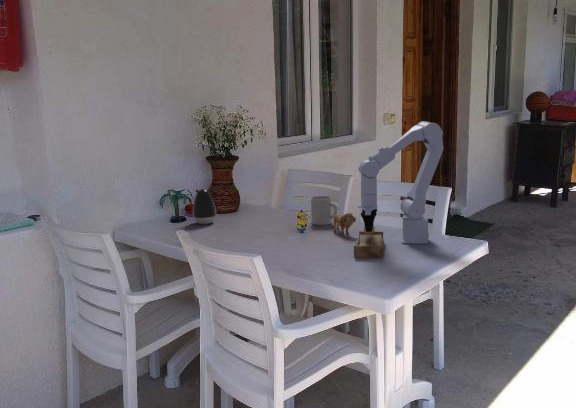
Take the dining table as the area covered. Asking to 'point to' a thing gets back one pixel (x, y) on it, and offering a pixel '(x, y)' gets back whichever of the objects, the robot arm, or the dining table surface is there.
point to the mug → (322, 210)
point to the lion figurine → (343, 222)
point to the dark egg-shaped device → (204, 207)
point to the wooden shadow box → (369, 245)
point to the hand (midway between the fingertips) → (369, 230)
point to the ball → (369, 232)
